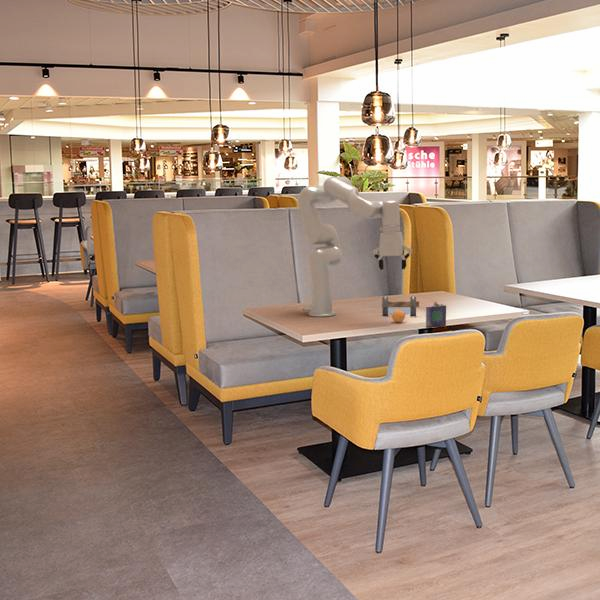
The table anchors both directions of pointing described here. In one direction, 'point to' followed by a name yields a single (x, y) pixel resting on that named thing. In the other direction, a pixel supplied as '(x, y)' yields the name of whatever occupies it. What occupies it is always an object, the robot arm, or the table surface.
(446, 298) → the table surface
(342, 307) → the table surface
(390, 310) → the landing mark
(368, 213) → the robot arm
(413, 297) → the post right
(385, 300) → the post left
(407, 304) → the stopper wall
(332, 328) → the table surface
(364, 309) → the table surface
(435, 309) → the flask
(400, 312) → the ball
